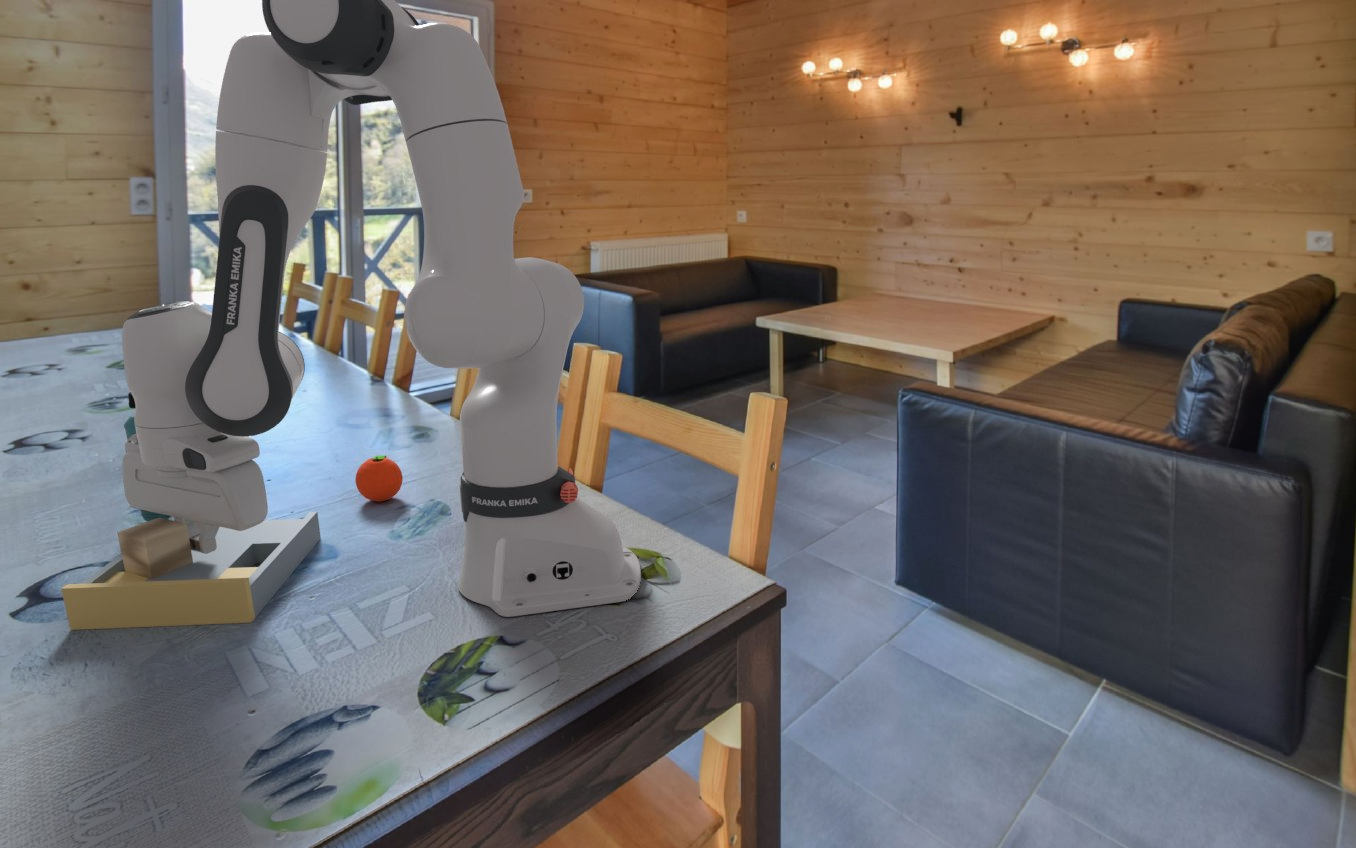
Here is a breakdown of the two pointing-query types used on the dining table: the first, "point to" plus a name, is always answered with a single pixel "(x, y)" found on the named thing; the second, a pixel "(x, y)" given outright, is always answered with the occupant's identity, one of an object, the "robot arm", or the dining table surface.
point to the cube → (155, 548)
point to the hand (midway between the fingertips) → (202, 550)
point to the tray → (197, 581)
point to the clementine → (379, 478)
